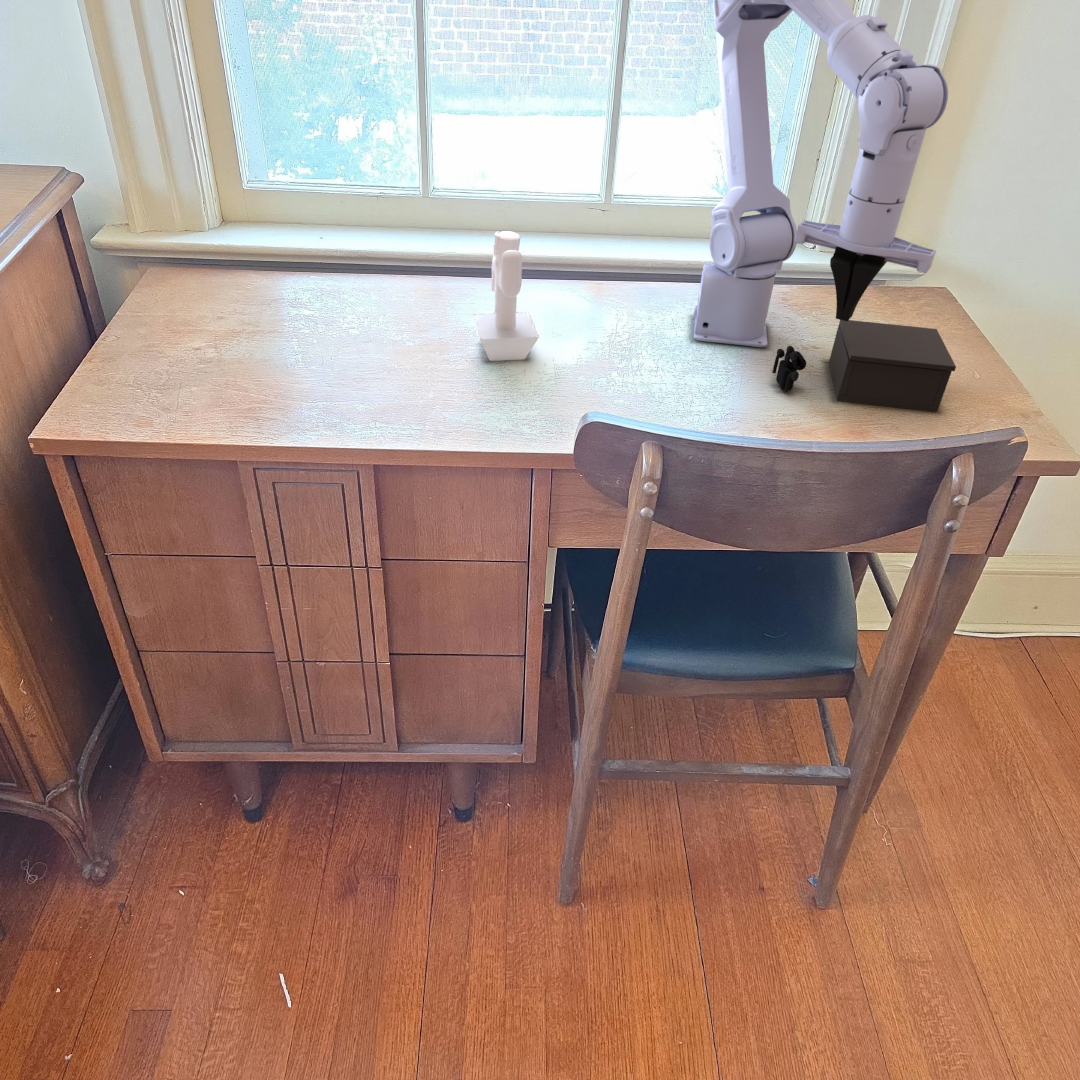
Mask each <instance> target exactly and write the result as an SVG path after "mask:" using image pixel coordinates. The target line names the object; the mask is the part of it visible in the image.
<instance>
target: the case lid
mask: <svg viewBox="0 0 1080 1080" xmlns="http://www.w3.org/2000/svg"><path fill="white" fill-rule="evenodd" d="M839 324H840V328H841V331H842V335H843V338H844V341H845V345H846V348H847V352H848V355H849V358H850V360H854V361H863V362H873V363H882V364H891V365H901V366H910V367H919V368H929V369H938V370H947V371H952V372H955V371H956V368H957V365H956V364H955V361H954V360H953V358H952V356H951V354H950V352H949V350H948V348H947V346H946V343H945V342H944V341H943V339H942V336H941V335H940V333H939V330H938V329H937V328H930V327H922V326H911V325H904V324H903V325H901V324H891V323H882V322H873V321H872V322H871V321H864V320H853V319H849V320H848V321H843V320H839V323H838V325H839Z"/></svg>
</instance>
